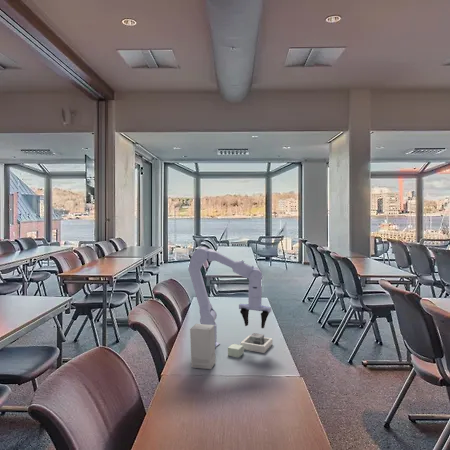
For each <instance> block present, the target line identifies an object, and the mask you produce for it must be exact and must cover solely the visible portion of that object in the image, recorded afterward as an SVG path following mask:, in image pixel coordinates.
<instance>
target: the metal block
mask: <svg viewBox="0 0 450 450" xmlns="http://www.w3.org/2000/svg"><path fill="white" fill-rule="evenodd" d="M250 335H251V336H250V343H251V344H258V345H264V337H265V334H263V333H256V332H253V333H252V334H250Z"/></svg>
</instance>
